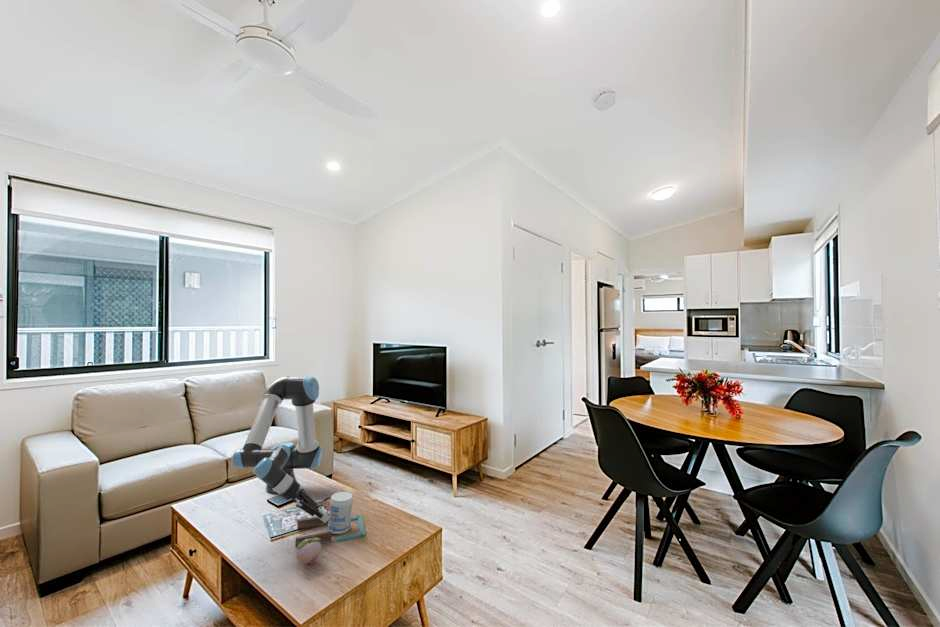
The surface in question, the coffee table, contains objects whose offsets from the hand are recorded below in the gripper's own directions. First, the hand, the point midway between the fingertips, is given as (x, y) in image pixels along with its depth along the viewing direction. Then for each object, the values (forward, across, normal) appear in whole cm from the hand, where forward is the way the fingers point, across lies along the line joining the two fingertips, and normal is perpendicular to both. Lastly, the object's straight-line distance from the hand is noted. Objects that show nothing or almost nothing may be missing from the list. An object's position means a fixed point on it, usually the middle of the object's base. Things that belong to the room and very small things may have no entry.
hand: (327, 519), depth 172 cm
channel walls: (0, -1, -8) cm, 8 cm away
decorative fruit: (-1, +19, -9) cm, 21 cm away
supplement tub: (+8, -1, 0) cm, 8 cm away
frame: (+10, -1, +2) cm, 10 cm away
